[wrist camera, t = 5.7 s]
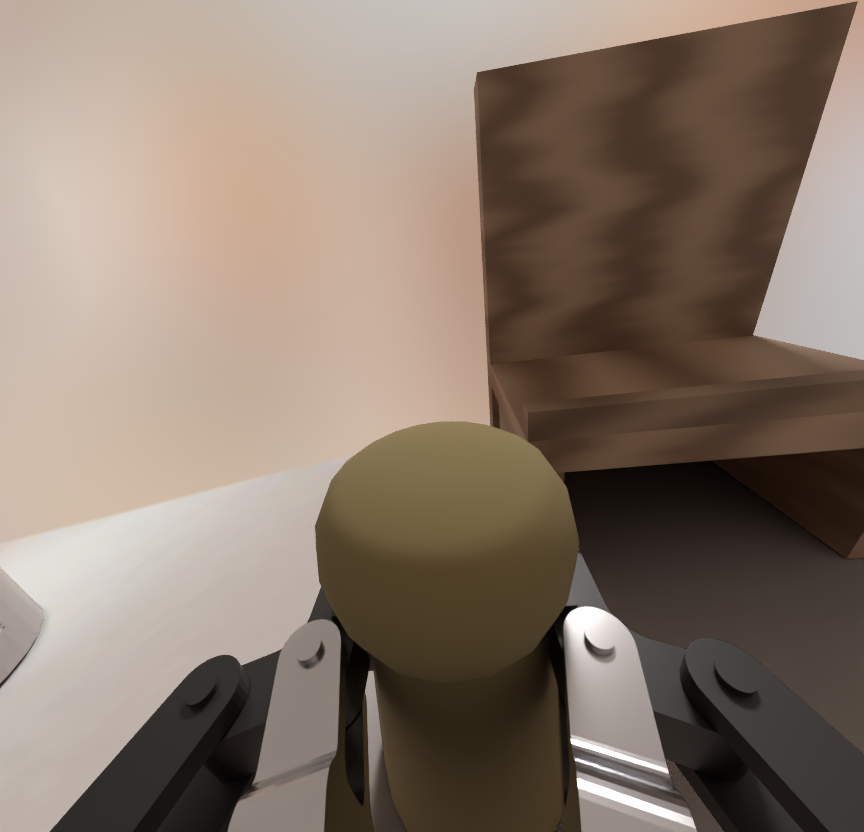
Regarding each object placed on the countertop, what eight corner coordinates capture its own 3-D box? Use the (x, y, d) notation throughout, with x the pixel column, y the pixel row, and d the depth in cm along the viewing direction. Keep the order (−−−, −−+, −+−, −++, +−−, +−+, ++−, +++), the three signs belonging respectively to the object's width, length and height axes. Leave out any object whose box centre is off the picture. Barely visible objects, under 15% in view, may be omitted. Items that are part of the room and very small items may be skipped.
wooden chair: (526, 586, 15) (533, -247, 5) (491, 453, 25) (473, 89, 16) (900, 566, 14) (1754, -568, 4) (701, 435, 24) (816, 27, 15)
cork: (449, 978, 7) (301, 782, 2) (358, 697, 12) (251, 449, 7) (612, 761, 10) (702, 461, 5) (483, 605, 14) (465, 378, 10)
